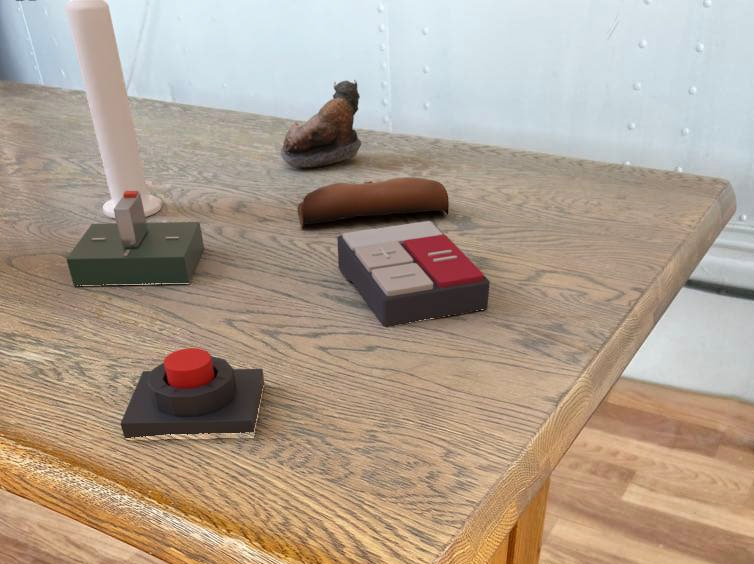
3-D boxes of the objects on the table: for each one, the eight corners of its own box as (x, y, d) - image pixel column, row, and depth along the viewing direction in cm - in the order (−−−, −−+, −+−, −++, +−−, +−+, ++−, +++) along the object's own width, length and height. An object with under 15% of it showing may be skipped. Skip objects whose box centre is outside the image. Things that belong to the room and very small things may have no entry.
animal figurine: (292, 176, 111) (284, 95, 104) (274, 163, 115) (265, 84, 109) (370, 164, 115) (368, 84, 108) (350, 151, 119) (346, 74, 113)
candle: (125, 197, 104) (71, -38, 88) (172, 203, 103) (126, -36, 86) (92, 216, 99) (28, -30, 83) (141, 222, 98) (85, -28, 81)
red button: (164, 391, 62) (159, 371, 61) (172, 368, 65) (168, 348, 63) (210, 390, 62) (207, 370, 61) (217, 367, 65) (214, 347, 64)
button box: (125, 441, 62) (114, 403, 60) (147, 388, 68) (137, 351, 66) (254, 439, 62) (248, 400, 60) (264, 386, 68) (259, 348, 66)
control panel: (74, 287, 84) (65, 257, 82) (98, 250, 91) (91, 222, 89) (189, 285, 84) (183, 255, 82) (204, 248, 92) (199, 220, 89)
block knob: (138, 247, 84) (128, 206, 81) (122, 248, 84) (112, 206, 81) (148, 230, 88) (139, 189, 85) (133, 230, 88) (124, 190, 85)
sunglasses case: (432, 192, 104) (439, 152, 98) (443, 236, 102) (452, 198, 95) (293, 204, 101) (292, 163, 95) (302, 250, 99) (302, 212, 92)
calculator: (384, 292, 74) (335, 228, 84) (384, 334, 77) (337, 267, 87) (492, 274, 77) (433, 214, 87) (488, 315, 80) (431, 252, 90)
